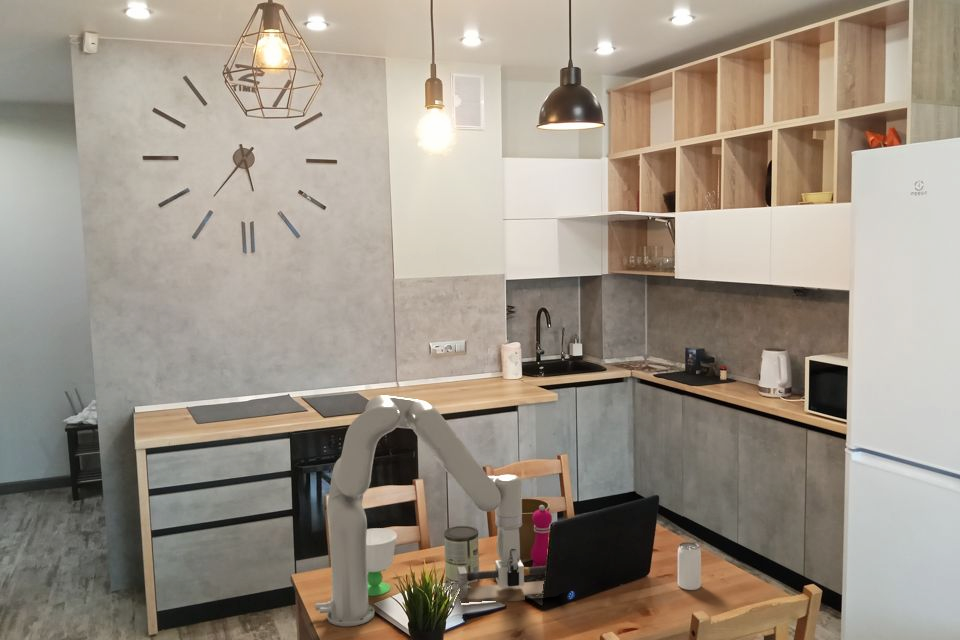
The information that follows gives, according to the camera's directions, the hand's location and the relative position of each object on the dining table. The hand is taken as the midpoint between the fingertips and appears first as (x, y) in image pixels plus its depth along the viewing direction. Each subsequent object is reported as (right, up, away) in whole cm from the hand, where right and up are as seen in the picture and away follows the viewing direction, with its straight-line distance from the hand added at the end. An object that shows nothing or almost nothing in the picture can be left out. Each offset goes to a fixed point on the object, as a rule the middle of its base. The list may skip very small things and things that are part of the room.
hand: (509, 578), depth 226 cm
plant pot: (+7, -2, +31) cm, 32 cm away
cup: (-39, -5, +6) cm, 40 cm away
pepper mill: (+11, -3, +18) cm, 22 cm away
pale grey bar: (0, -5, 0) cm, 5 cm away
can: (+52, -4, +4) cm, 52 cm away
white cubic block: (0, -1, 0) cm, 1 cm away
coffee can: (-14, -4, +13) cm, 20 cm away
